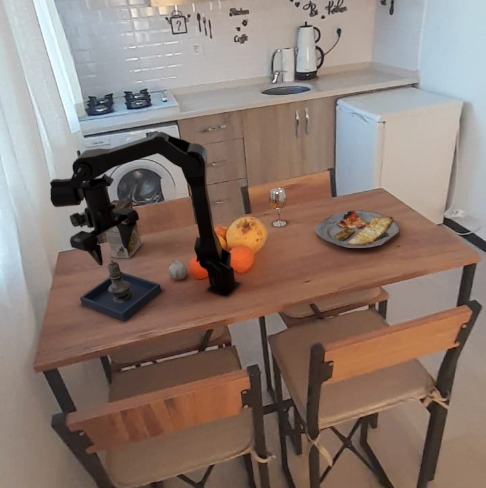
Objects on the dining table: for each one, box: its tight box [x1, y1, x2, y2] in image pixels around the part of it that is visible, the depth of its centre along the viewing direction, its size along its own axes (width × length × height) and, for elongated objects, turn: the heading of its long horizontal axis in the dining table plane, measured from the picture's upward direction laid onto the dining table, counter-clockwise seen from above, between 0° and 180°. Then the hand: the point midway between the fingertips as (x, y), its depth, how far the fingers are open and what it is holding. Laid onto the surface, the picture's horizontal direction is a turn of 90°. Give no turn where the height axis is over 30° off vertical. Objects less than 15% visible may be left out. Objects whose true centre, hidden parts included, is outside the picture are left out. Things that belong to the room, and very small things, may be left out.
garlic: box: [168, 260, 189, 280], centre depth 134 cm, size 6×5×5 cm
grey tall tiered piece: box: [107, 259, 132, 303], centre depth 126 cm, size 6×6×12 cm
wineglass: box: [268, 187, 288, 228], centre depth 154 cm, size 6×6×12 cm
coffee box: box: [105, 199, 143, 259], centre depth 148 cm, size 9×6×16 cm
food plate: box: [314, 209, 400, 249], centre depth 145 cm, size 25×23×4 cm
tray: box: [79, 272, 163, 322], centre depth 128 cm, size 16×14×2 cm
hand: (113, 256), depth 123 cm, fingers open, 9 cm apart
